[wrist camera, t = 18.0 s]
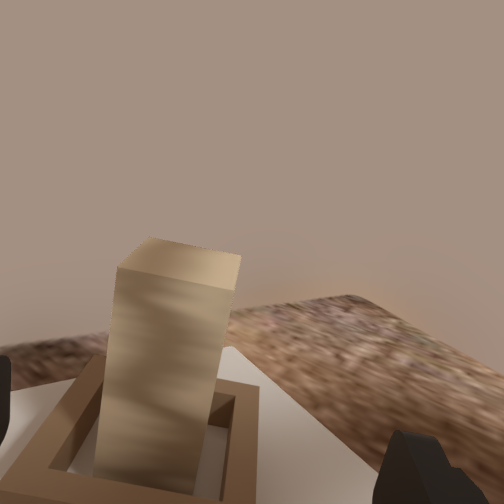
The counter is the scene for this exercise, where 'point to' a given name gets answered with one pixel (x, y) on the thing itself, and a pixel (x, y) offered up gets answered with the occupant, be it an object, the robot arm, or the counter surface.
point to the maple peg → (163, 363)
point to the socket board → (212, 456)
